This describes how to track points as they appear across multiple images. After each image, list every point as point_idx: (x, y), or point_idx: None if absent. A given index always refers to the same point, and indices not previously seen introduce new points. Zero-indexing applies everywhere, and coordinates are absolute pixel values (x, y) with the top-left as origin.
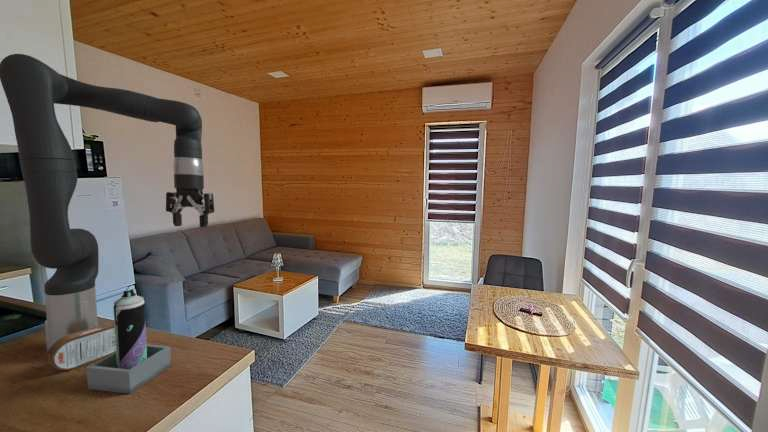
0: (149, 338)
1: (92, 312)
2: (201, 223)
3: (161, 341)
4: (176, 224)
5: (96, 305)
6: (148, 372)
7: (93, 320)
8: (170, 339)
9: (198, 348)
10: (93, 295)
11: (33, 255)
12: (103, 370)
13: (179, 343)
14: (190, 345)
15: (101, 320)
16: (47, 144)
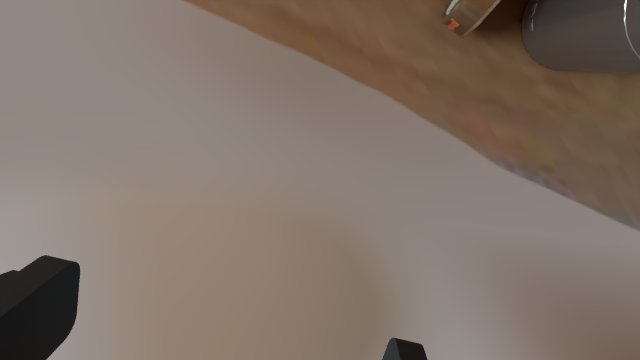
0: (408, 81)
1: (588, 9)
2: (14, 275)
3: (365, 60)
4: (394, 350)
5: (603, 46)
6: None
7: (569, 15)
8: (346, 70)
9: (239, 8)
10: (634, 14)
11: None
12: None
13: (308, 43)
14: (271, 28)
15: (612, 211)
16: None
